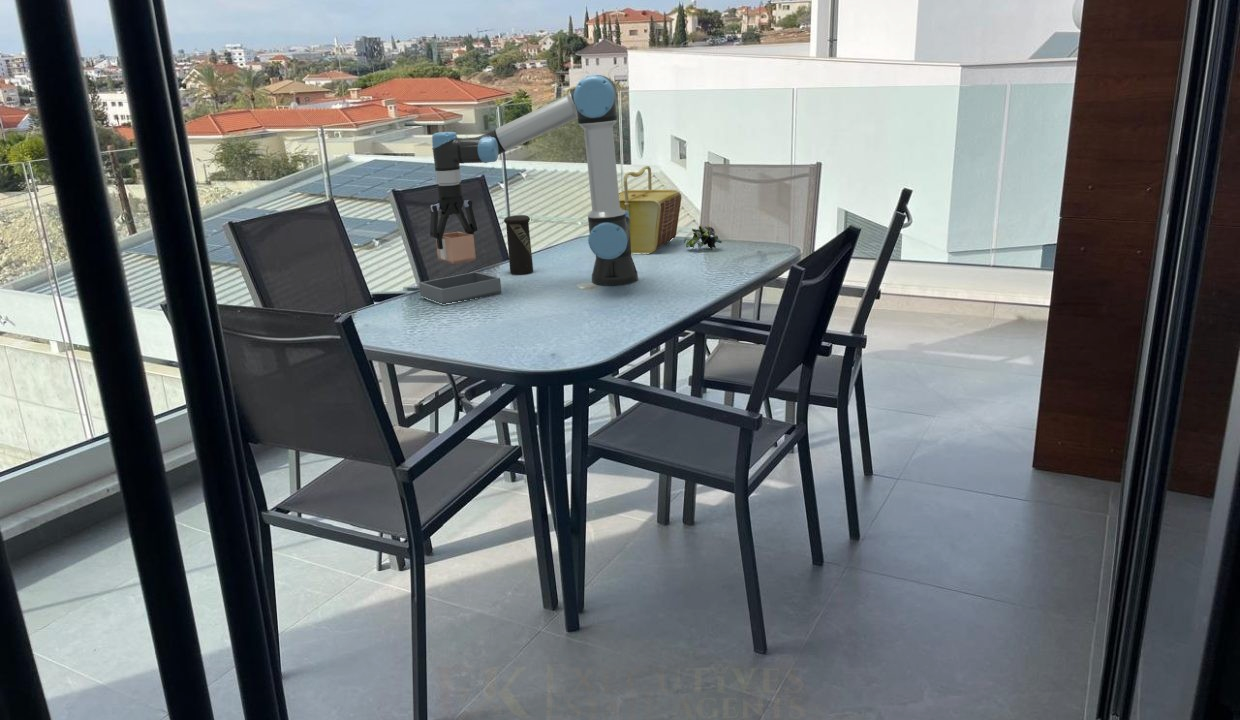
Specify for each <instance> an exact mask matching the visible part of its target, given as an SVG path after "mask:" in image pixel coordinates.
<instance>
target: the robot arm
mask: <svg viewBox="0 0 1240 720" xmlns="http://www.w3.org/2000/svg"><path fill="white" fill-rule="evenodd" d="M617 97H618V94H617V89H616V86H615V83H614V82H613V81H612V80H611V79H610V78H609V77H607V76H605V75H603V74H601V75H600V74H591V75H586V76H584V77H583V78H582V79H580V81H578V83H577V84H576V86H575V88H572V89H569V91H568V93H567V95H565V96H563V97H560V98H559V99H556V100H554V101H552V102H550V103H548V104H546V105H543V106H541V107H539V108H538V109H535V110H532V111H531V112H529V113H526V114H524V115H522V116H520V117H519V118H516V119H514V120H512V121H509V122H508V123H505V124H503V125H500V126H499V127H497V128H495V129H493V130H490V131H488V132H486V133H483V134H482V135H479V136H475V137H466V138H462V137H458V136H457V132H455V131H440V132H435V133H433V134H432V136H431V139H432V140H431V141H432V142H431V143H432V148H431V149H432V154H433V162H434V172H435V183H436V184H437V186H436V191H437V198H438V201H437V203H436V204H430V205H429V210H430V226H429V228H430V229H429V230H430V231H429V236H430V237H431V238H434V239H435V241H436V240H437V245H436V249H437V248H438V249H440V254H441V259H444V260H447V253H446V244H445V239H444V238H442V237H443V234H445V230H446V226H447V222H448V218H450V215H451V216H452V215H455V216H457V218H458V220H459V223H460V225H461V226H462V228H463V230H464V233H467V234H472V235H474V233H475V232H477V231H478V225H477V221H476V218H475V214H474V210H473V200H470V199H464V198H463V187H462V186H463V185H462V184H461V182H462V176H461V168H460V167H461V166H460V164H482V163H483V164H488V163H495V162H497V161H498V159H499V155H502V154H503V153H506V152H508V151H510V150H512V149H514V148H515V147H518V146H521V145H523V144H524V143H526V142H529V141H531V140H534V139H536V138H537V137H541V136H542V135H544V134H547V133H548V132H549V133H550V132H551V131H552V130H555V129H558V128H560V127H562V126H564V125H566V124H568V123H571V122H572V121H574V120H577V124H578V126H579V127H581V128H582V130H583V131H584V132H583V133H584V142H585V151H586V153H585V154H586V162H587V172H588V173H587V174H588V181H589V193H590V202H591V211H590V212H589V213H588V214H587V220H588V222H587V223H588V231H589V234H588V240H587V241H588V246H589V249H590V251H591V252H592V253H593V254H594V255H595V261H594V265H593V270H592V274H591V282H592V283H593V284H595V285H599V286H601V285H602V286H621V285H622V286H623V285H627V284H632V283H635V282H637V281H638V280H639V277H638V276H639V275H638V270H637V268H636V264H635V263H634V259H633V257H632V254H631V239H630V217H629V212H628V211H626V210H622V209H621V208H620V202H619V193H620V192H619V183H618V172H617V171H618V170H617V161H616V160H617V159H616V150H615V139H614V129H613V127H614V125H615V124H616V123H617V122H618V116H617V115H618V114H617V105H616V102H617V99H618V98H617ZM463 206H464V209H465V212H464V211H463V209H462V207H463ZM439 210H441V212H440V215H439ZM465 213H466V216H465ZM439 217H440V218H439ZM466 217H467V218H466Z"/></svg>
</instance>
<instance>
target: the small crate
mask: <svg viewBox="0 0 1240 720" xmlns="http://www.w3.org/2000/svg"><path fill="white" fill-rule="evenodd" d="M442 238H444V239H445V244H446V253H447V260H444V259H441V254H440V249H438V248H437V247H436V253H437V260H438V261H439V262H444V263H447V264H450V265H457V264H462V263H467V262H473V261H477V258H476V257H477V256H476V248H475V247H476V246H475V237H474V234H467V233H466V232H461V231H454V232H447V233H444V234H443V237H442ZM435 243H436V246H437V240H436V239H435Z"/></svg>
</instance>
